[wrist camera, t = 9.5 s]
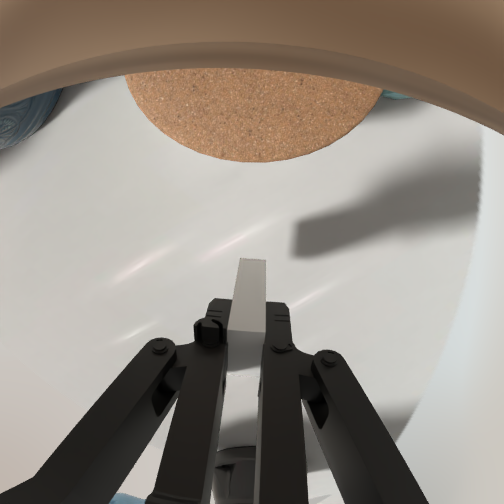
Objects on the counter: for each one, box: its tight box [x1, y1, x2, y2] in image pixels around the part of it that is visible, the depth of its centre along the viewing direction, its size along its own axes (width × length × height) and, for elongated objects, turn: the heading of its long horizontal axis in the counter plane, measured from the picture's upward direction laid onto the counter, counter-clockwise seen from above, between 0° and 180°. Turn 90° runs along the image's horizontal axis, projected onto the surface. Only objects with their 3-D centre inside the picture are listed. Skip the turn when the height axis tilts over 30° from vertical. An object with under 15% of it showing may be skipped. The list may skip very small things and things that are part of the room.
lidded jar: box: [125, 68, 384, 162], centre depth 11 cm, size 11×11×9 cm
